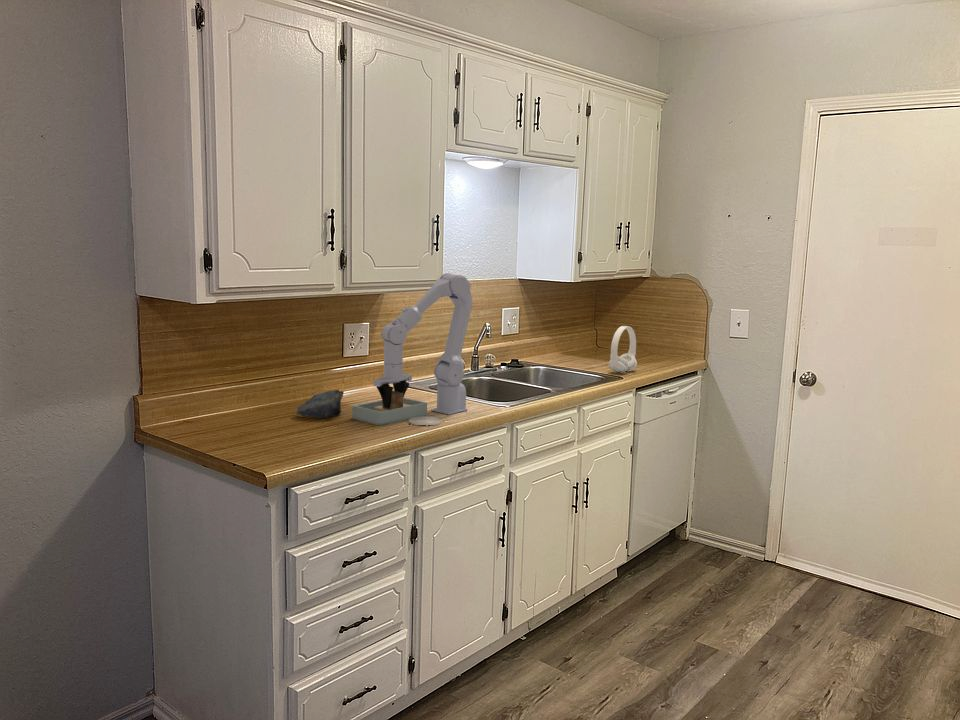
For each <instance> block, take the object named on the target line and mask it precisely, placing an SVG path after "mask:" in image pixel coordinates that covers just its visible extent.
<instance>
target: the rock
mask: <svg viewBox="0 0 960 720" xmlns="http://www.w3.org/2000/svg"><path fill="white" fill-rule="evenodd" d="M344 392H345V391H344V390H339V389H334V390H333V389H332V390H327V391H324V392H320V393H317V394H313V396H311V398H310V399H307V400H306V401H305V402H304V403H302V404H300V405H299V406H298V407H297V408H296V410H295V414H296V415H301V416H306V417H309V418H312V419H313V418H315V419H316V418H320V419H328V418H332V417H334V415H340V414H341V413H342V406H341V405H342V404H341V403H342V402H341V401H342V399H343V398H344V394H345V393H344Z"/></svg>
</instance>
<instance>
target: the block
mask: <svg viewBox="0 0 960 720" xmlns="http://www.w3.org/2000/svg"><path fill="white" fill-rule="evenodd" d="M401 407H403V393H402V392H397V391H394V390H393V391H392V395H391V404H390V408H385V407H384V405H383V401H382V408H383V409H387V410H392V409H396V408H401Z"/></svg>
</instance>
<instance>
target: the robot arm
mask: <svg viewBox="0 0 960 720" xmlns="http://www.w3.org/2000/svg"><path fill="white" fill-rule="evenodd" d="M471 287H472V284H471V282H470V281H469V279H468V278H467V277H466V276H465V275H461V274H452V273H443V274H442V275H440V277H439V278H438V279H436V280H435V281H434V283H433V284H432V286H431V287H430V288H429V289H428V290H427V291H426V293H424V295H422V297H421V298H420V299H419V300H418V301H417V302H416V303H415V305H413V306H407V307H403V308H402V312H401V313H400V314H399V315H398V316H397V317H396V318H395V319H394V318H393V319H392V320H391V323H388V324H386V325H384V327H383V330H382V331H381V332H380V336H381V338H382V340H383V341H384V345H383V375H382V376H381V377H378V378H376V379H375V378H374V379H373V387H376V389H377V391H378V392H379V395H380V397H381V400H382V401H383V405H384V407H385V408H390V404H391V395H392V391H397V392H402V393H403V398H405V395H406V392H407V390H408V388H409V387H410V382H412V379H413V377H412V376H413V375H412V374H408V373H406V374H403V369H404V367H403V366H404V365H403V361H404V357H403V356H404V342H405V341H406V339H407V334H408V333H409V332H411V330H412V329H414V327H416V326H417V325H418V324H419V323H420V322H421V320H422V319H423V313H425V312H426V311H427V310H428V309H429V308H430V307H431V306H432V305H434V304H435V303H436V302H437V301H438V300H439V299H441V298H445V297H449V299H450V300H451V301H452V304H454V307H453V313H452V317H451V320H450V324H449V325H450V326H449V330H448V334H447V339H446V344H445V348H444V352H443V353H442V354H441V355H440V356H439V358H438V362H437V364H436V365H435V367H434V370H433V374H434V377H435V378H436V379H437V382H436V383H437V384H436V385H437V386H436V389H437V390H436V407H435V408H434V407H433V408H431V409H430V411H432V412H437V413H441V414H445V415H453V414H458V413H460V412H461V413H462V412H465V411H468V408H466V407H467V390H466V389H467V388H466V386H465V385H464V384H463V383H462V381H463V380H464V375H465V374H464V360H463V358H462V353H463V347H464V343H465V338H466V335H467V329H468V325H469V321H470V317H471V313H472V307H473V303H474V302H473V297H472V292H471ZM391 384H392V385H391Z"/></svg>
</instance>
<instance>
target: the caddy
mask: <svg viewBox="0 0 960 720" xmlns="http://www.w3.org/2000/svg"><path fill="white" fill-rule="evenodd" d="M351 414H352V417H351V418H352V420H356V421H360V422H365V423H367V424H368V423H369V424H372V425H375V426H380V427H382V426H385V425H390V424H394V423H398V422H399V423H400V422H403V421H407V420H408V421H409V419H410V418H412V417H418V416H428V402H426V401H421V400H417V399H412V398H407V397H404V398H403V407H401V408H396V409H392V410H387V409H383V408H382V399H380V400H375V401H370V402H366V403H365V402H364V403H360V404H356V405H352V413H351Z"/></svg>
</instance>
